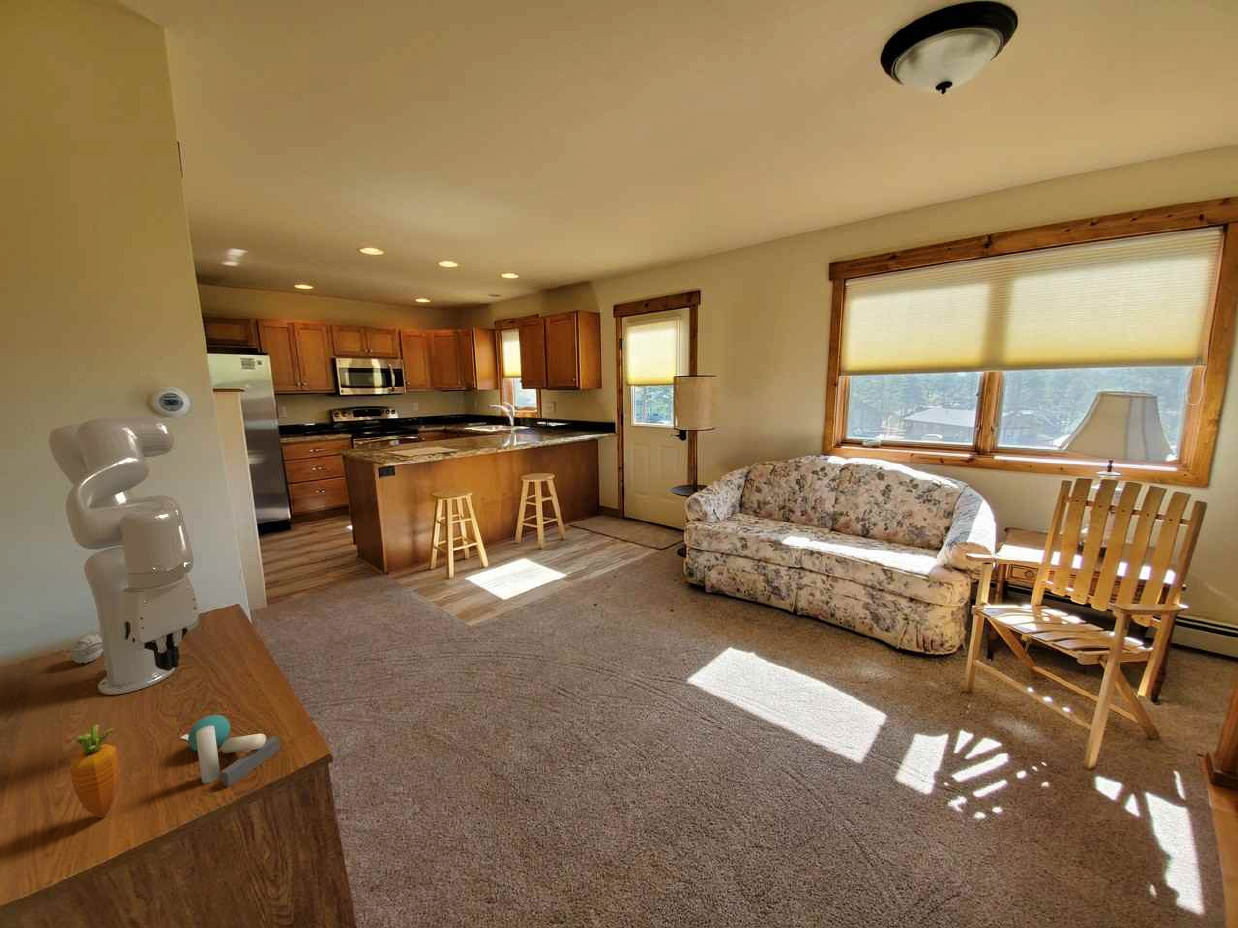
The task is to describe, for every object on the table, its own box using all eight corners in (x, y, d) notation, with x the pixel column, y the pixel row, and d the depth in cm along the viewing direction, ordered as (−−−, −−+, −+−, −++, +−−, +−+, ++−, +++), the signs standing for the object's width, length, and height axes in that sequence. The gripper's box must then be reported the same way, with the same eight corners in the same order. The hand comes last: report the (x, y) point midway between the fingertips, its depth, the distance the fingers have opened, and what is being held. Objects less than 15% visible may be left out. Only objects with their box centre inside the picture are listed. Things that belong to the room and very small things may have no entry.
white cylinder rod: (198, 781, 82) (192, 733, 81) (213, 770, 84) (207, 724, 83) (208, 784, 81) (202, 736, 80) (223, 774, 84) (217, 727, 82)
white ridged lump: (82, 671, 114) (77, 643, 113) (63, 666, 116) (58, 639, 115) (114, 658, 120) (110, 631, 119) (96, 653, 122) (92, 627, 121)
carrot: (101, 804, 77) (87, 719, 75) (134, 802, 78) (122, 717, 75) (69, 832, 72) (53, 742, 70) (105, 830, 73) (90, 740, 71)
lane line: (180, 738, 92) (180, 737, 92) (186, 734, 93) (186, 733, 93) (213, 748, 89) (213, 747, 89) (219, 744, 90) (219, 743, 90)
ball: (206, 751, 85) (195, 764, 87) (242, 727, 91) (230, 740, 93) (186, 724, 86) (175, 738, 88) (223, 702, 91) (212, 716, 93)
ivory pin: (218, 744, 88) (249, 740, 84) (232, 734, 90) (262, 730, 87) (224, 756, 88) (254, 752, 85) (237, 746, 90) (268, 742, 87)
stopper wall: (222, 784, 81) (220, 771, 81) (274, 747, 90) (272, 735, 89) (228, 786, 81) (227, 773, 80) (280, 749, 89) (278, 737, 89)
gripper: (188, 559, 97) (198, 644, 99) (89, 588, 82) (104, 686, 85) (215, 564, 94) (224, 650, 97) (118, 595, 80) (132, 694, 83)
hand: (168, 667), depth 91 cm, fingers closed
